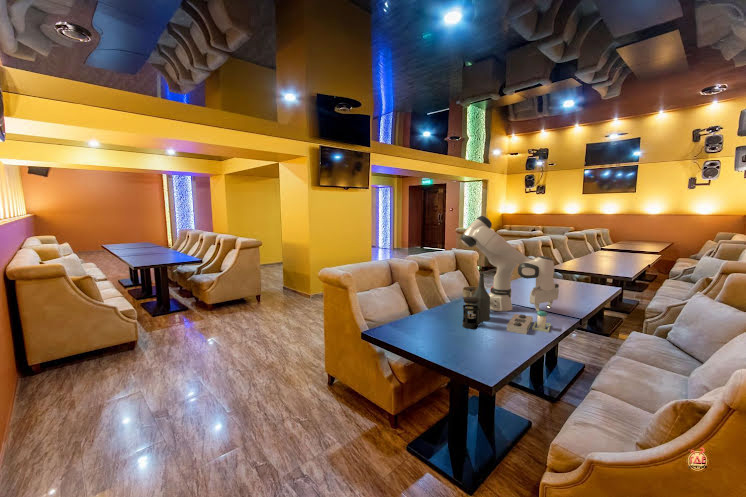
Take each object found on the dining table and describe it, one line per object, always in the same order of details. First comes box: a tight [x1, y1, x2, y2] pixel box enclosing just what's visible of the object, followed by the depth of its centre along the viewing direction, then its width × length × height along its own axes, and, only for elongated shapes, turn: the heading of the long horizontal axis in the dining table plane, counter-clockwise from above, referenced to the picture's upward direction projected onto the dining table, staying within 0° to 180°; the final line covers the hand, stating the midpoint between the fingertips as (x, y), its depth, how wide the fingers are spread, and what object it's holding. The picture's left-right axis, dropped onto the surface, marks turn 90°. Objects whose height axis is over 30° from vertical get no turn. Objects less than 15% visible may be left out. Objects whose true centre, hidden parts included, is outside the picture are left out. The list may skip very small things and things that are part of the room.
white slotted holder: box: [506, 313, 534, 335], centre depth 184 cm, size 22×10×5 cm, turn 146°
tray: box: [531, 321, 552, 333], centre depth 182 cm, size 8×12×3 cm, turn 146°
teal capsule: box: [536, 310, 548, 330], centre depth 181 cm, size 5×5×10 cm
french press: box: [462, 288, 482, 330], centre depth 189 cm, size 12×9×23 cm
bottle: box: [471, 272, 491, 324], centre depth 198 cm, size 10×10×30 cm
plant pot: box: [461, 285, 487, 314], centre depth 216 cm, size 15×15×16 cm
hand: (543, 309), depth 181 cm, fingers open, 8 cm apart
